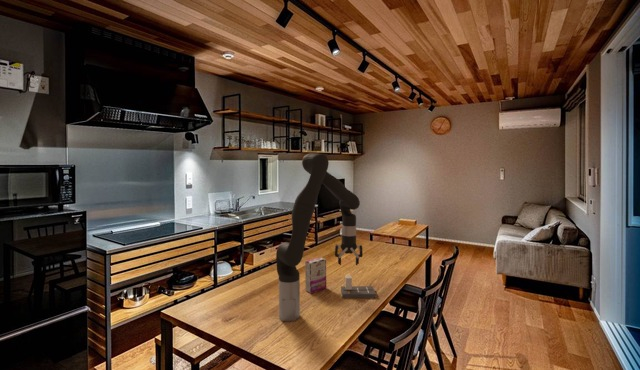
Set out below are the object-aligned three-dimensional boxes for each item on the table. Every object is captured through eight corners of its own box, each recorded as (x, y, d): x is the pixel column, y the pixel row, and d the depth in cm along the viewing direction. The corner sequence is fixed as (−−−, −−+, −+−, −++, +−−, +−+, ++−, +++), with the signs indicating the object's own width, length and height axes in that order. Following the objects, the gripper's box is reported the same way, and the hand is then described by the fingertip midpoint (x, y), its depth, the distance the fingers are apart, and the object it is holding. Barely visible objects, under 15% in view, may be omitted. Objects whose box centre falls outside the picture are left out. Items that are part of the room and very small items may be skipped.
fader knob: (351, 291, 171) (351, 278, 171) (345, 291, 171) (346, 278, 171) (350, 288, 175) (350, 275, 175) (345, 288, 175) (345, 275, 175)
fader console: (375, 297, 169) (375, 293, 169) (342, 297, 169) (342, 293, 168) (372, 289, 179) (372, 286, 179) (340, 290, 178) (340, 286, 178)
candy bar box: (320, 285, 185) (320, 256, 183) (326, 288, 181) (326, 258, 179) (304, 290, 178) (304, 260, 176) (310, 293, 174) (310, 263, 172)
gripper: (335, 235, 167) (335, 267, 168) (363, 235, 167) (363, 267, 169) (334, 232, 175) (334, 262, 176) (361, 232, 175) (361, 262, 176)
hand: (348, 264), depth 172 cm, fingers open, 8 cm apart
